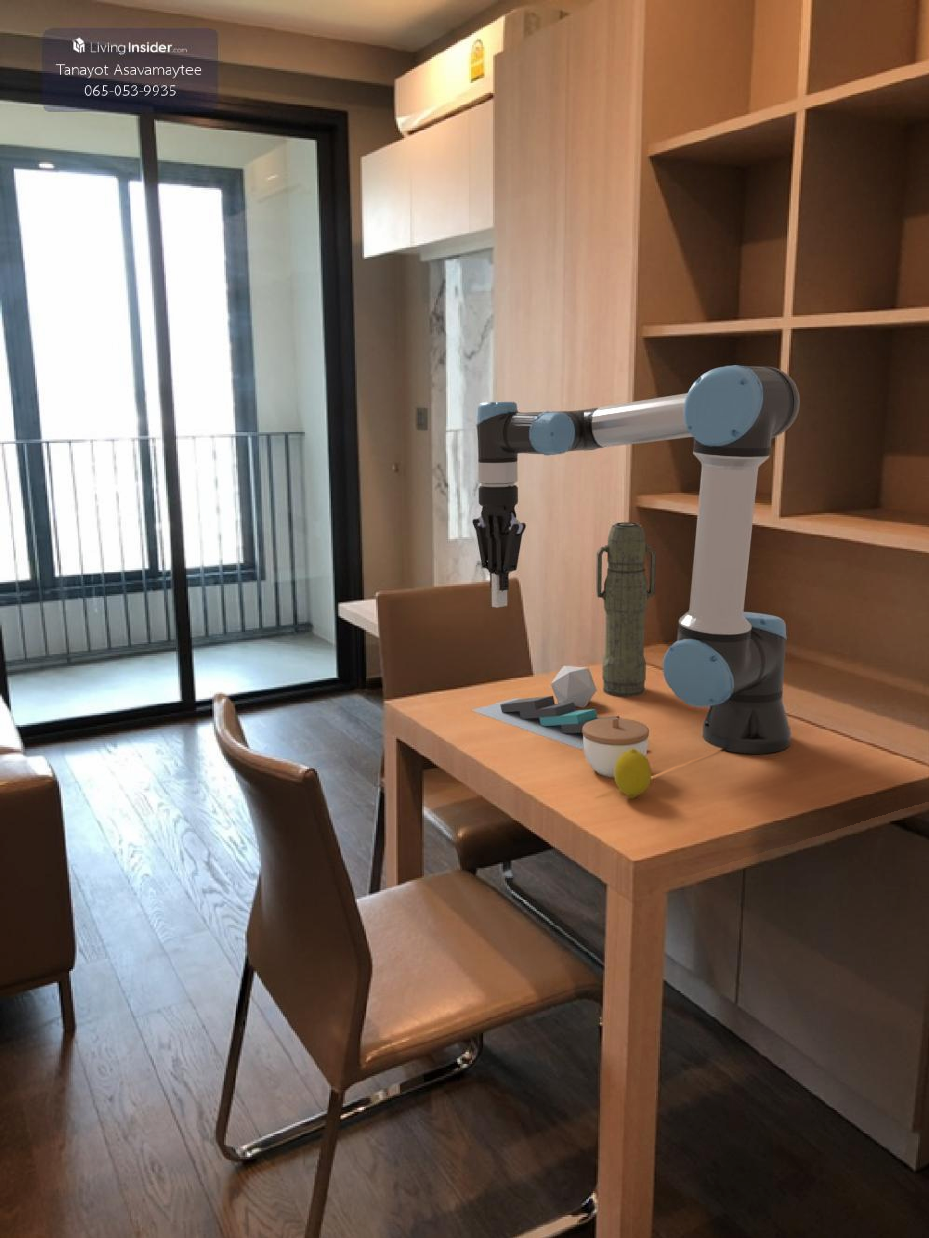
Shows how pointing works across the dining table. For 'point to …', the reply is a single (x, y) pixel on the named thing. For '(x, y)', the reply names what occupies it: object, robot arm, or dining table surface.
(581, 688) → the die
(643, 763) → the lemon
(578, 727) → the domino
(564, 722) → the teal domino
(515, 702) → the domino
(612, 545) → the thermos
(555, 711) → the domino
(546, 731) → the mat
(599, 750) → the lidded jar
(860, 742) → the dining table surface
